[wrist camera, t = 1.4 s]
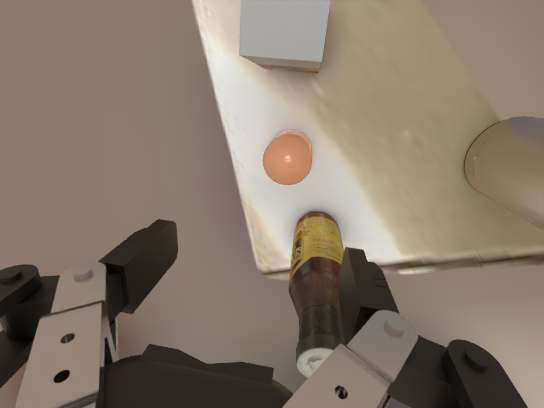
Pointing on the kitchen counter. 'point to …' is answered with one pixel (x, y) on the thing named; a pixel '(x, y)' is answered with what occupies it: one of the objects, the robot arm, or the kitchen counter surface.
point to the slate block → (284, 32)
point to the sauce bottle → (316, 289)
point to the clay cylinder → (288, 157)
